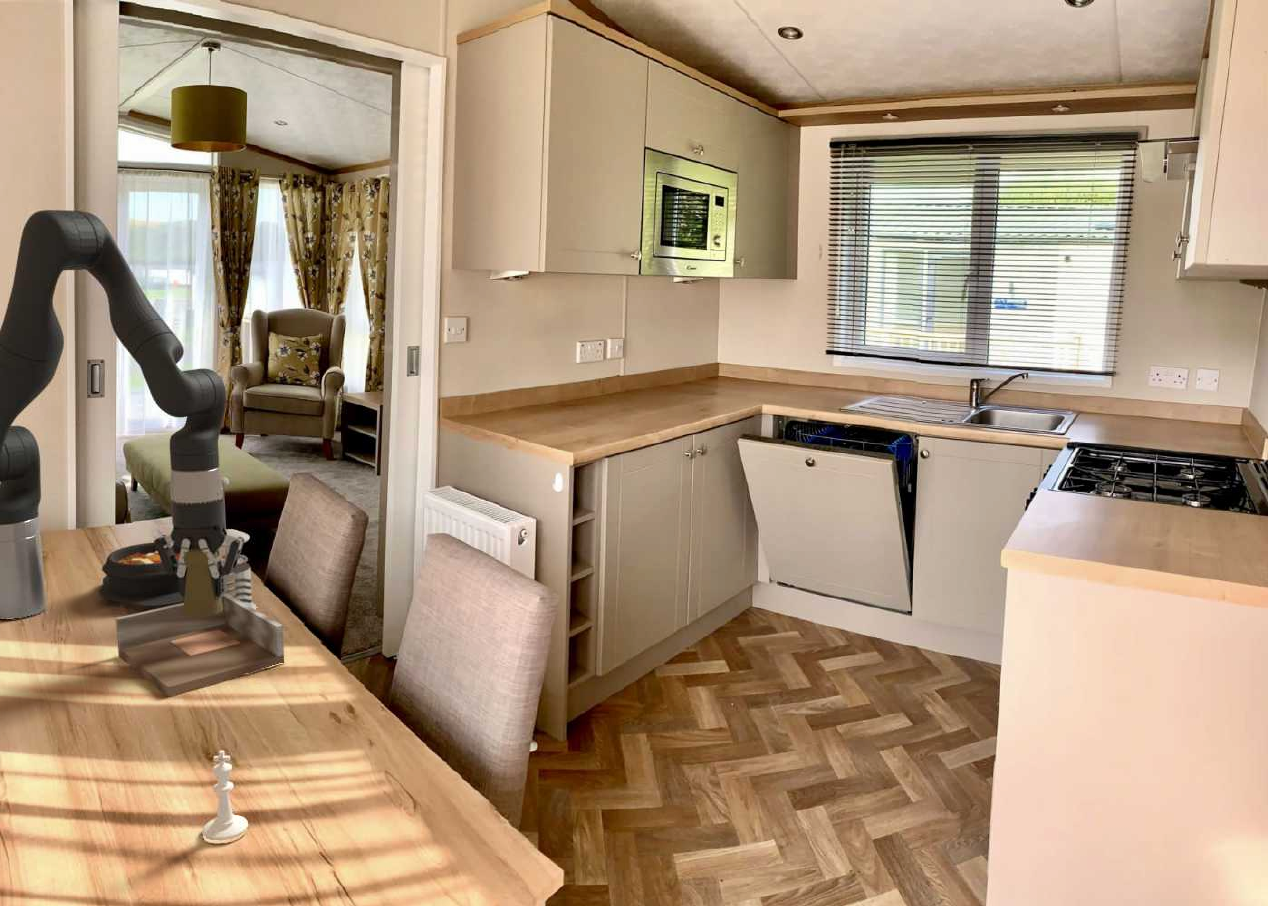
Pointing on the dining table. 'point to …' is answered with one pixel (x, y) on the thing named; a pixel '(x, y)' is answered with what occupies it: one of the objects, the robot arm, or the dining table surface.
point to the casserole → (140, 577)
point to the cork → (199, 586)
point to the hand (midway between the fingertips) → (202, 597)
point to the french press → (238, 567)
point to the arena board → (198, 645)
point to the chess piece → (224, 805)
